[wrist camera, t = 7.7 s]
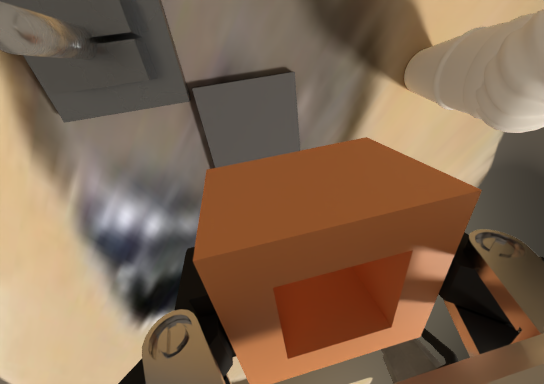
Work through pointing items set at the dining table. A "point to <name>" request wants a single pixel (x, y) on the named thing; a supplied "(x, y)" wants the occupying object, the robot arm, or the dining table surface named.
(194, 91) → the mat
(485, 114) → the soft serve ice cream cone
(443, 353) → the coffeepot
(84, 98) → the grey peg stand
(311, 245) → the orange square tube
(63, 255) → the dining table surface
